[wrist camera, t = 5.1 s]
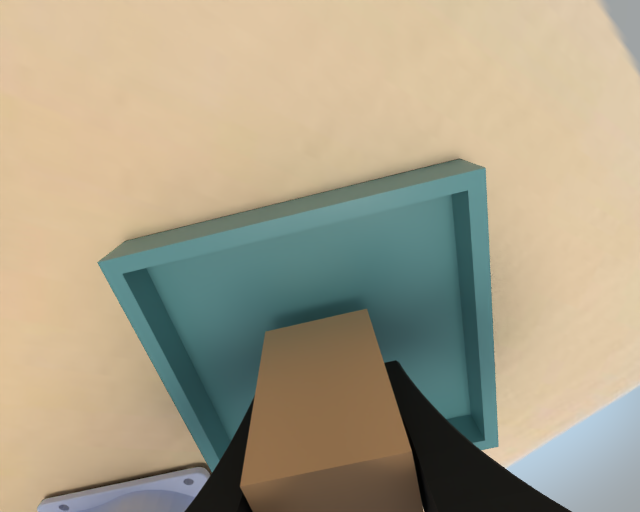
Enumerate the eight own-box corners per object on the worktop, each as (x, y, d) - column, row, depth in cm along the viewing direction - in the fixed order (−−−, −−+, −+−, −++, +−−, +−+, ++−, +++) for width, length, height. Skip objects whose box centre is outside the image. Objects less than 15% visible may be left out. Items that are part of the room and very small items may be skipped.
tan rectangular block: (292, 406, 15) (286, 578, 10) (265, 331, 14) (240, 486, 8) (383, 386, 15) (431, 551, 9) (366, 308, 13) (412, 451, 8)
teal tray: (234, 463, 19) (227, 501, 17) (124, 241, 14) (97, 262, 12) (478, 412, 18) (498, 446, 17) (459, 158, 13) (485, 167, 11)
